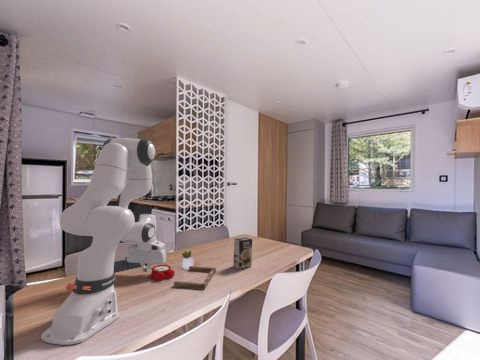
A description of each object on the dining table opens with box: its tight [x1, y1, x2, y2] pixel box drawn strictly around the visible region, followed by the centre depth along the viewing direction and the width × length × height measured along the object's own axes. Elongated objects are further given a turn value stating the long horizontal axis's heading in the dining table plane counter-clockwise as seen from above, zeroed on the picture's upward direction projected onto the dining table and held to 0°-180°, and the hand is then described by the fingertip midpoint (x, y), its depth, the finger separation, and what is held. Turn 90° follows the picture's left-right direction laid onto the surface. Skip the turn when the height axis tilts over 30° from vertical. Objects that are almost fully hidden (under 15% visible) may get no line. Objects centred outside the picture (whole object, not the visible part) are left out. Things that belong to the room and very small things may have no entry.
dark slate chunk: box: [114, 256, 148, 274], centre depth 134 cm, size 15×22×5 cm
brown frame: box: [173, 265, 217, 290], centre depth 118 cm, size 22×14×2 cm, turn 173°
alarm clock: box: [149, 264, 175, 282], centre depth 119 cm, size 10×6×15 cm
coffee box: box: [232, 236, 253, 270], centre depth 137 cm, size 9×6×16 cm
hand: (145, 271), depth 121 cm, fingers closed
